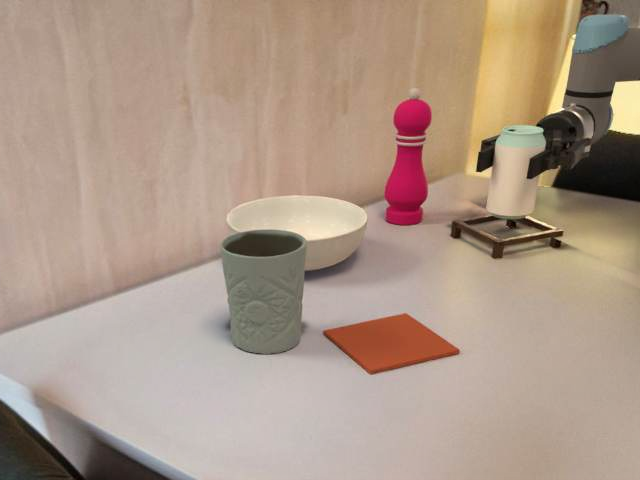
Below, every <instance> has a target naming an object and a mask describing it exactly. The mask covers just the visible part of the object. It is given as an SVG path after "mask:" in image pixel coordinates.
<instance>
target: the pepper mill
mask: <svg viewBox="0 0 640 480" xmlns="http://www.w3.org/2000/svg"><path fill="white" fill-rule="evenodd" d="M420 97H421V90H420V89H419V88H418V87H414V88H411V89H410V90H409V93H408V98H409V99H406V100H404V101H402V102H400V104H398V105H397V106H396V108H395V110H394V113H393V126H394V127H395V129H396V130H397V132H396V133H395V139H394V143H395V144H396V157H395V161H394V165H393V167H392V170H391V172H390V173H389V174H390V175H389V176H388V179H387V180H386V184H385V188H384V193H383V195H384V199H385V201H386V203H387V204H388V206H387V207H386V209H385V221H386V222H388V223H390V224H393V225H396V226H397V225H398V226H411V225H416V224H419V223H421V222H422V221H423V218H424V217H423V216H424V208H423V207H422V205H423V204H424V203H425V202H426V200H427V199H428V196H429V185H428V179H427V177H426V173H425V169H424V165H423V150H424V145H425V144H426V143H427V137H428V134H427V133H426V131H427V130H428V128H429V127H430V126H431V124H432V119H433V112H432V108H431V106H430V105H429V104H428V102H426V101H424V100H422V99H420Z"/></svg>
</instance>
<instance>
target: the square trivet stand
mask: <svg viewBox="0 0 640 480" xmlns="http://www.w3.org/2000/svg"><path fill="white" fill-rule="evenodd" d="M500 220H503V219H502V218H497V217H494V216H492V215H491V213H489V214H484V215H478V216H473V217H467V218H466V217H465V218H461V219H460V218H459V219H454V220H452V221H451V228H450V229H451V230H450V237H451V238H453V239H458V237H459V238H462V231H463V232H465V233H466V234H469V235H471V236H473V237H476V238H478V239H479V240H482V241H483V242H486V243H488V244H490V245H492V251H491V256H492V257H491V258H493V257H494V258H493V259H495V258H499V259H502V258H503V257H504V250H505V247H507V246H508V247H509V246H514V245H518V244H524V243H528V242H529V243H530V242H535V241H539V240H544V239H545V240H546V239H549V243H548V246H549V247H551V248H552V249H555V248H560V247H561V245H562V240H561V239H557V238H561V237H564V236H563V235H564V230H563V229H562V228H558V227H555V226H553V225H550V224H548V223H546V222H543V221H541V220H538V219H536V218H533V217H532V216H529V215H527V216H526V217H524V218H521V219H516V220H517V221H516V220H515V219H506V220H505V221H506V222H505V227H506V226H508V227H510V228H509V229H512V228H511V227H514V228H517V223H518V221H519V222H522V223H525V224H526V225H529V226H531V227H533V228H535V229H539V230H540V231H539V232H533V233H529V234H527V233H526V234H522V235H517V236H511V237H506V238H498V237H496V236H494V235H491V234H490V233H487V232H485V231H483V230H481V229H479V228H478V227H474V226H473V225H476V224H477V225H479V224H484V223H488V222H494V221H500ZM508 227H507V228H508Z"/></svg>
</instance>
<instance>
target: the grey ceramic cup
mask: <svg viewBox="0 0 640 480" xmlns="http://www.w3.org/2000/svg"><path fill="white" fill-rule="evenodd" d="M219 249H220V258H221V262H222V269H223V278H224V281H225V282H224V283H225V288H226V294H227V304H228V310H229V311H228V312H229V316H230V331H231V340H232V343H233V342H234V343H233V345H234V344H235V345H236V346H235V345H234V346H235V347H236V348H237V347H239V348H241V349H243V350H242V351H244V350H245V351H244V352H246V351H250V352H254V353H253V354H255V353H261V354H260V355H272V354H271V353H275V354H280V353H279V352H281V353H284V352H283V351H285V352H287V351H290V350H292V349H294V348H295V347H297V345H298V344H300V341H301V338H302V319H303V298H304V291H305V290H304V289H305V272H306V271H305V261H306V249H307V241H306V239H305V238H304V237H303V236H301V235H300V234H297V233H294V232H290V231H284V230H271V229H266V230H251V231H245V232H240V233H236V234H233V235H231V236H230V235H229V236H227V237H225V238H223V240H222V241H221V242H220V244H219ZM293 347H294V348H293ZM239 348H238V349H239ZM291 348H292V349H291ZM241 349H240V350H241ZM250 352H249V353H250Z"/></svg>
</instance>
